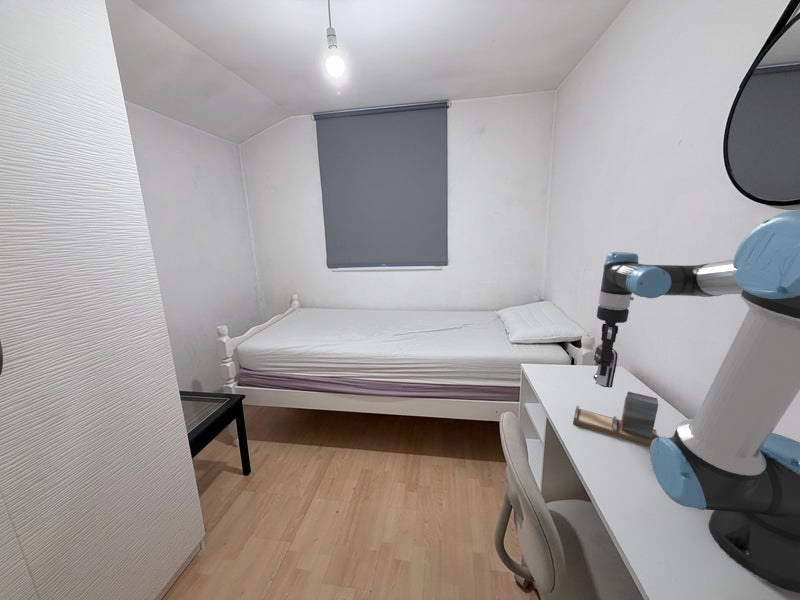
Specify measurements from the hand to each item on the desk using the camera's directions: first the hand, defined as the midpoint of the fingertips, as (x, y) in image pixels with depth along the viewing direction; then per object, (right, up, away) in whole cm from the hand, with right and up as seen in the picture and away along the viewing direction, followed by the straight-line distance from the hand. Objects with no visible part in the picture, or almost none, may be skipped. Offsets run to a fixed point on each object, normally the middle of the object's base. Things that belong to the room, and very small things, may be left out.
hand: (601, 379), depth 98 cm
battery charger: (0, -1, 0) cm, 1 cm away
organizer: (+4, -16, +1) cm, 16 cm away
